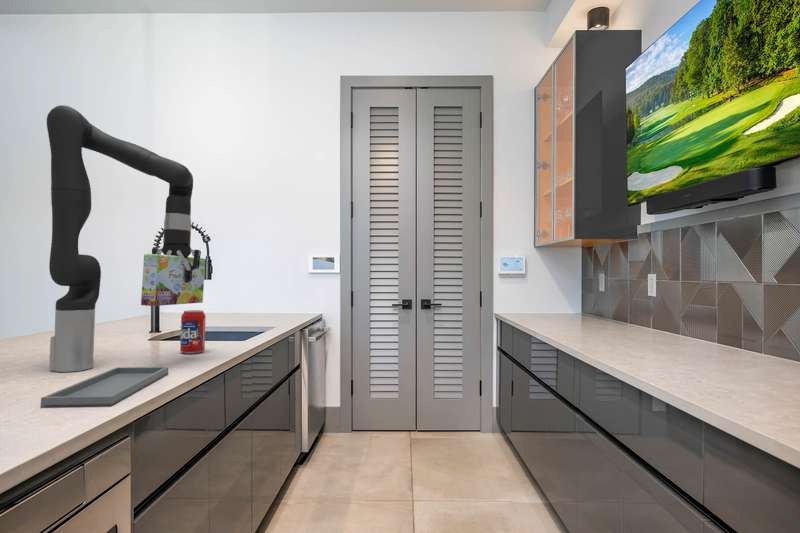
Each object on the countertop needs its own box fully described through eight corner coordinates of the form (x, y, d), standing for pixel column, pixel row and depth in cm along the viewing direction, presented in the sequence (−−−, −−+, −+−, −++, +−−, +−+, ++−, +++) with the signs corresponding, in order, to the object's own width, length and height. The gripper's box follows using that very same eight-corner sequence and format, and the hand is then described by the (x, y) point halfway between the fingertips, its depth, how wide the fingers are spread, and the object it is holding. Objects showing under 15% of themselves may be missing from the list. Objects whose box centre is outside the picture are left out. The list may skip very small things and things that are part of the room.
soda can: (209, 351, 156) (210, 310, 156) (194, 355, 148) (195, 311, 148) (190, 350, 158) (191, 309, 158) (174, 353, 150) (176, 311, 150)
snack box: (156, 306, 123) (158, 254, 123) (140, 305, 124) (142, 253, 124) (204, 302, 143) (205, 257, 144) (189, 302, 144) (191, 257, 145)
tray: (40, 407, 89) (40, 397, 89) (115, 374, 118) (116, 367, 118) (111, 406, 91) (111, 396, 91) (168, 374, 120) (168, 367, 120)
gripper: (147, 226, 129) (145, 282, 129) (197, 228, 131) (195, 283, 131) (158, 229, 137) (156, 281, 137) (205, 231, 139) (203, 282, 138)
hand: (175, 282), depth 134 cm, fingers closed on snack box, 6 cm apart
